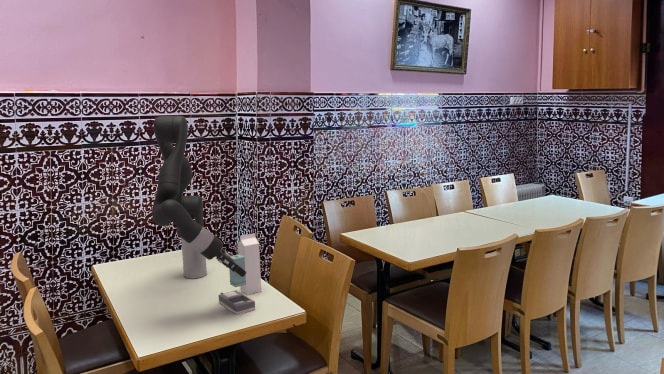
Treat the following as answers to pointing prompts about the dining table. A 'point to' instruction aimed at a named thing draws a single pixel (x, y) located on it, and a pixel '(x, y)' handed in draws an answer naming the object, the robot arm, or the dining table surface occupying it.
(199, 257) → the robot arm
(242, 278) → the block
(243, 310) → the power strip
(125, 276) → the dining table surface
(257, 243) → the milk
